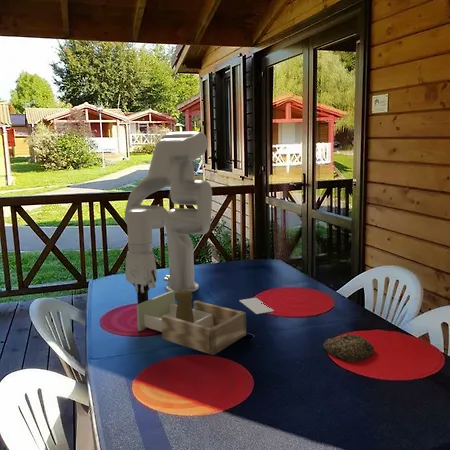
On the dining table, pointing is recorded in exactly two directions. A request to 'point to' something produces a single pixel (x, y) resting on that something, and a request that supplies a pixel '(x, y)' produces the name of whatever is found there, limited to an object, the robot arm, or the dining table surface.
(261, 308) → the smartphone
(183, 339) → the caddy
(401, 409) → the dining table surface
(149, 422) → the dining table surface
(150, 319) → the drawer
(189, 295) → the cork
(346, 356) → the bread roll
